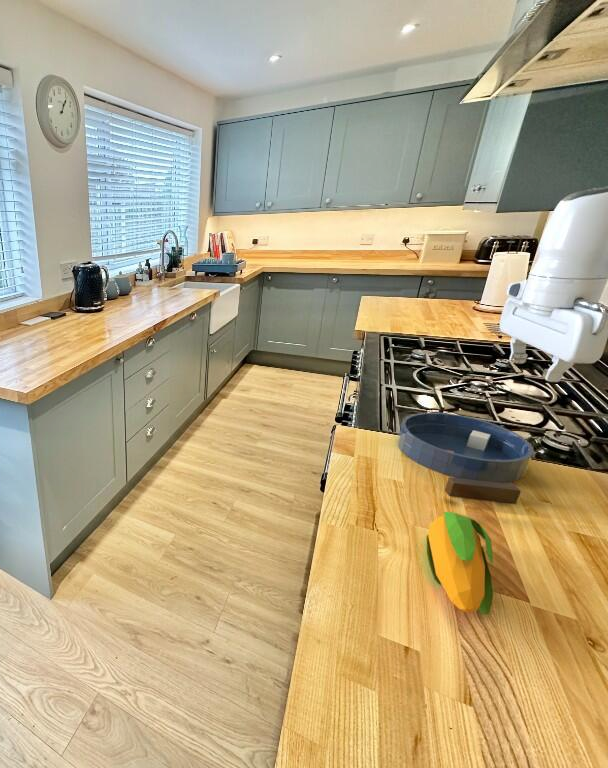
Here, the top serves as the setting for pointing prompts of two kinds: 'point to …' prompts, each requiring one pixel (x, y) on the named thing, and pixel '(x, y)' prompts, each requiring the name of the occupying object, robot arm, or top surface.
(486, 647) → the top surface
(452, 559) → the corn
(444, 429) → the bowl
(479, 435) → the cream block
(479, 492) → the brown bar
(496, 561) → the top surface
